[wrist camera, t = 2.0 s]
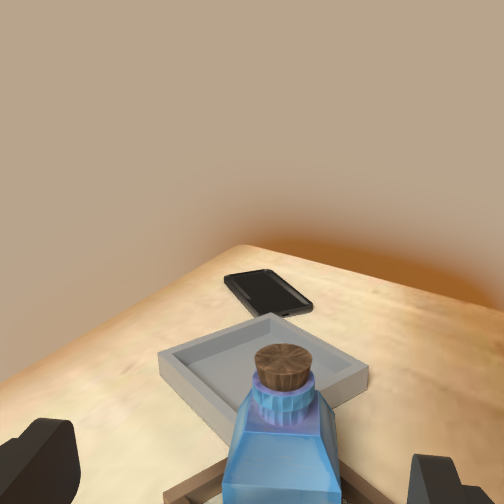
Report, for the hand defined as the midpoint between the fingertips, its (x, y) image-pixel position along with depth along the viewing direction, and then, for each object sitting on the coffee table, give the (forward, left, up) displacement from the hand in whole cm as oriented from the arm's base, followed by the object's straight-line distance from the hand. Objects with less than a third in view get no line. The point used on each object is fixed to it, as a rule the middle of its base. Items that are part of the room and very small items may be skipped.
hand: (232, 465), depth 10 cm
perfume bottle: (-9, -9, -17) cm, 22 cm away
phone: (-30, -38, -18) cm, 52 cm away
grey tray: (-17, -22, -17) cm, 33 cm away
